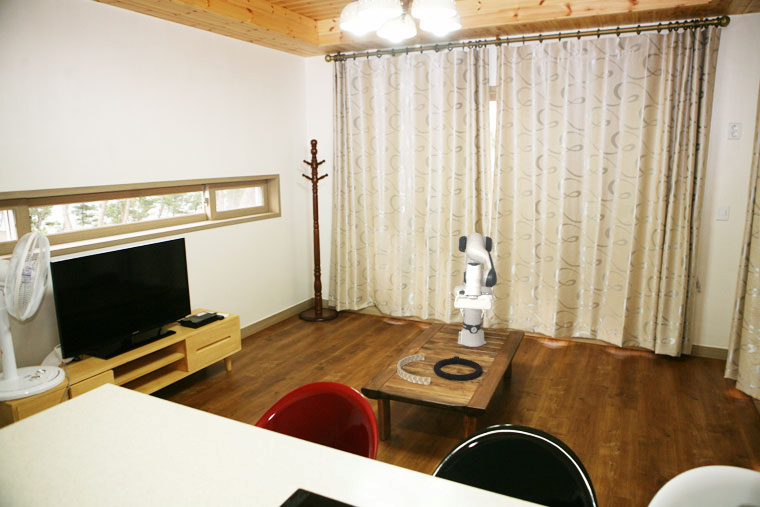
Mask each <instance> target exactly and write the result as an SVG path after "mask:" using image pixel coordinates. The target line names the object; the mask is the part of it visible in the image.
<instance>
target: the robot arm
mask: <svg viewBox="0 0 760 507" xmlns="http://www.w3.org/2000/svg"><path fill="white" fill-rule="evenodd" d="M457 248H458V250H459V252H460V253H465V254H466V257H465V270H464V272H463V281H462V282H463V283H464V284H460V285H459V284H457V285H455V287H454V289H453V290H452V296H453V298H454V302H453V308H455V309H459V310H460V313H461V316H462V317H461V318H463V322H462V328H461V331H458V338H457V344H458V345H461V346H464V347H465V346H466V347H470V348H471V347H474V348H475V347H476V348H477V347H481V346H483V345H485V344H487V341H486V340H485V332H484V330H483V329H482V328H483V327H482V326H483V325H482V318H483V315H484V313H485V311H490V310H492V300H493V298H494V292H493V289H492V288H494V287H495V285H497V283H498V274H497V271H496V269H495V265H494V261H493V257H492V255H491V252H492V250H493V248H494V242H493V238H492V237H491V236H483V235H482V233H479V232H472V233H470V234H469V235H462V236H460V237H459V239H458V240H457ZM484 265H485V268H486V269H484Z"/></svg>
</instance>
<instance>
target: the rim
mask: <svg viewBox="0 0 760 507" xmlns="http://www.w3.org/2000/svg"><path fill="white" fill-rule="evenodd" d="M417 361H418V362H419V361H425V353H417V354H412V355H407V356H405V357H403V358H401V359H400V360H398V362H397V363H396V364H397V365H396V373H397V375H398V376H399V377H400V378H401V379H404V380H405V381H408V382H411V383H414V384H419V385H427V386H428V385H431V377H430V376H429V377H428V376H419V375H414V374H410V373H409V372H406V371H404V370H403V369H402V367H403V366H405V365H407V364H409V363H413V362H417Z"/></svg>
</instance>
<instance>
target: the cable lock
mask: <svg viewBox="0 0 760 507" xmlns="http://www.w3.org/2000/svg"><path fill="white" fill-rule="evenodd" d="M449 365H462V366H467V367H471V368H473V369H474V370H475V371H473V372H470V373H464V374H463V373H462V374H459V373H458V374H457V373H450V372H446V371H443V370H441V368H442V367H445V366H449ZM433 372H434V374H435V375H436V376H438V377H439V378H442V379H445V380H450V381H454V382H455V381H456V382H466V381H471V380H475V379H477V378H479V377H480V376H481V375H482V374H483V368H482V366H481V365H480V363H478V362H476V361H474V360H471V359H468V358H463V357H460V356H458V355H454V356H453V357H450V358H444V359H441V360H438V362H436V363H435V364H434V365H433Z"/></svg>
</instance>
